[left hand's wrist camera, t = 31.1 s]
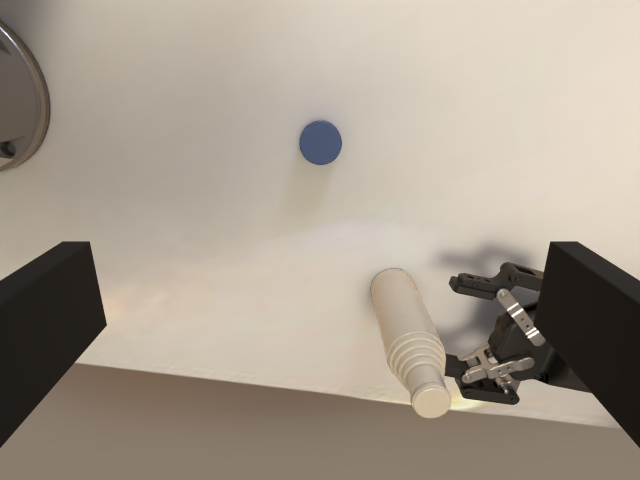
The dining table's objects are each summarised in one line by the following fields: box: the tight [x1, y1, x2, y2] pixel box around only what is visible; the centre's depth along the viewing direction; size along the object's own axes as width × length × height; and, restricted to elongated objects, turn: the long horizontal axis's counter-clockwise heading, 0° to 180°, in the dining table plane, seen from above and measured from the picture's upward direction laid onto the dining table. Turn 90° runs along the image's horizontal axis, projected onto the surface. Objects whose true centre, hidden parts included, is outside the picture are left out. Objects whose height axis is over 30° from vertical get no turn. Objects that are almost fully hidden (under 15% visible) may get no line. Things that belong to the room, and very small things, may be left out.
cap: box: [300, 121, 342, 165], centre depth 41 cm, size 4×4×2 cm
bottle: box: [371, 269, 451, 418], centre depth 39 cm, size 5×5×18 cm
